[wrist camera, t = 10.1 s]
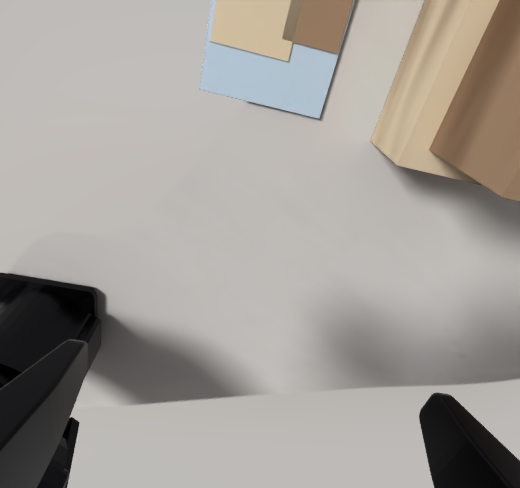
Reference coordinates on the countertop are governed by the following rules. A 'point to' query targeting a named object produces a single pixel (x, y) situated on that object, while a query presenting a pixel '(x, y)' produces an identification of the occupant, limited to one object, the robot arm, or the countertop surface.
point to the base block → (430, 83)
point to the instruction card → (274, 51)
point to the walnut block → (488, 109)
